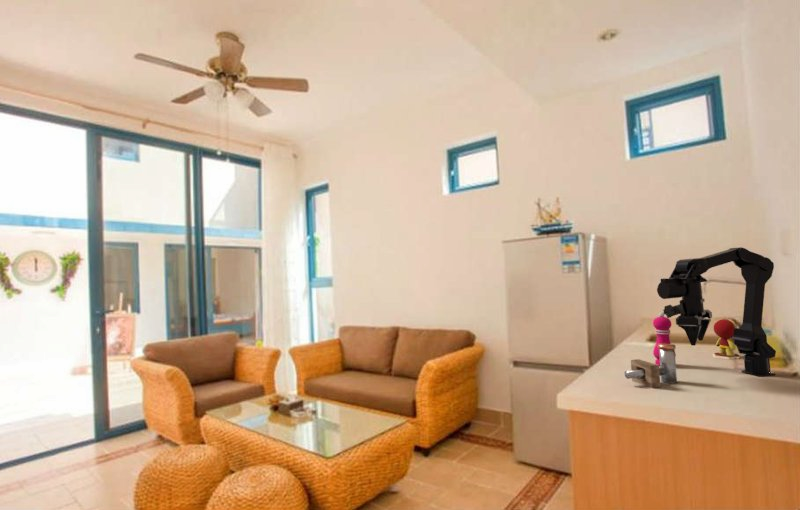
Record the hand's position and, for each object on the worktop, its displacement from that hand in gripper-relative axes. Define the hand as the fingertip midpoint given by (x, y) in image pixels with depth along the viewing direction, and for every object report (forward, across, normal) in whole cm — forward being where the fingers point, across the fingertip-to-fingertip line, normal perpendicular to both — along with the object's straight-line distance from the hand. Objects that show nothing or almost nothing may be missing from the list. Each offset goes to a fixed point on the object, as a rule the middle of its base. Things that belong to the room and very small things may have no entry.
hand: (697, 342), depth 140 cm
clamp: (+11, +15, -10) cm, 21 cm away
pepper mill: (+12, -13, -14) cm, 23 cm away
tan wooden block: (+11, +17, -11) cm, 23 cm away
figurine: (+13, -41, 0) cm, 43 cm away
